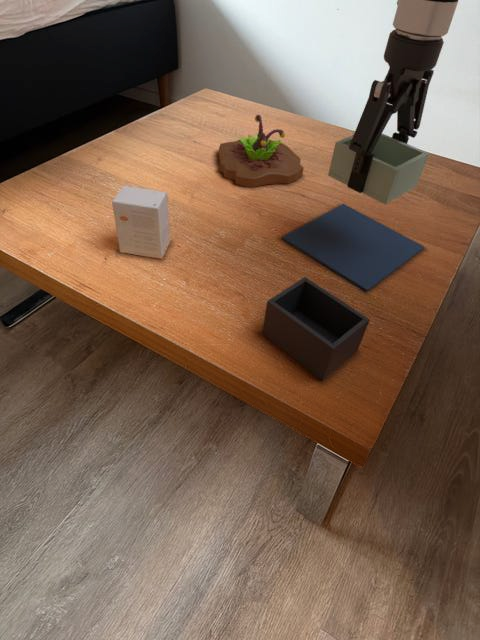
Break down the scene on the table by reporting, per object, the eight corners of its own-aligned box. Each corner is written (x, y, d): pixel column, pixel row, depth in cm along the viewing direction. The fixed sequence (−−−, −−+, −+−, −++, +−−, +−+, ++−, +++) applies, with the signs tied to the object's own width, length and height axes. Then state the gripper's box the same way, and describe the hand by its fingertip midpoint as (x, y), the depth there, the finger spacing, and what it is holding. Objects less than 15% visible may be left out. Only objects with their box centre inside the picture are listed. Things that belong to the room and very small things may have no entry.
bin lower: (357, 351, 68) (370, 319, 63) (322, 381, 64) (333, 349, 59) (297, 309, 74) (305, 276, 69) (261, 334, 69) (267, 300, 64)
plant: (282, 145, 117) (288, 100, 109) (311, 182, 104) (321, 134, 97) (207, 150, 112) (208, 103, 104) (228, 189, 99) (231, 139, 91)
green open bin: (416, 186, 79) (429, 153, 74) (385, 204, 73) (397, 170, 69) (360, 160, 84) (369, 127, 80) (327, 175, 79) (335, 142, 75)
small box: (170, 242, 84) (168, 191, 77) (162, 260, 80) (158, 208, 73) (129, 235, 85) (123, 184, 77) (118, 252, 81) (111, 200, 73)
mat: (423, 248, 89) (424, 246, 89) (366, 292, 78) (367, 289, 78) (342, 205, 98) (343, 203, 98) (281, 239, 88) (282, 236, 87)
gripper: (433, 18, 71) (389, 154, 86) (348, 36, 59) (315, 190, 74) (478, 30, 67) (424, 169, 83) (398, 52, 55) (352, 210, 71)
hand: (372, 179), depth 79 cm, fingers closed on green open bin, 10 cm apart
